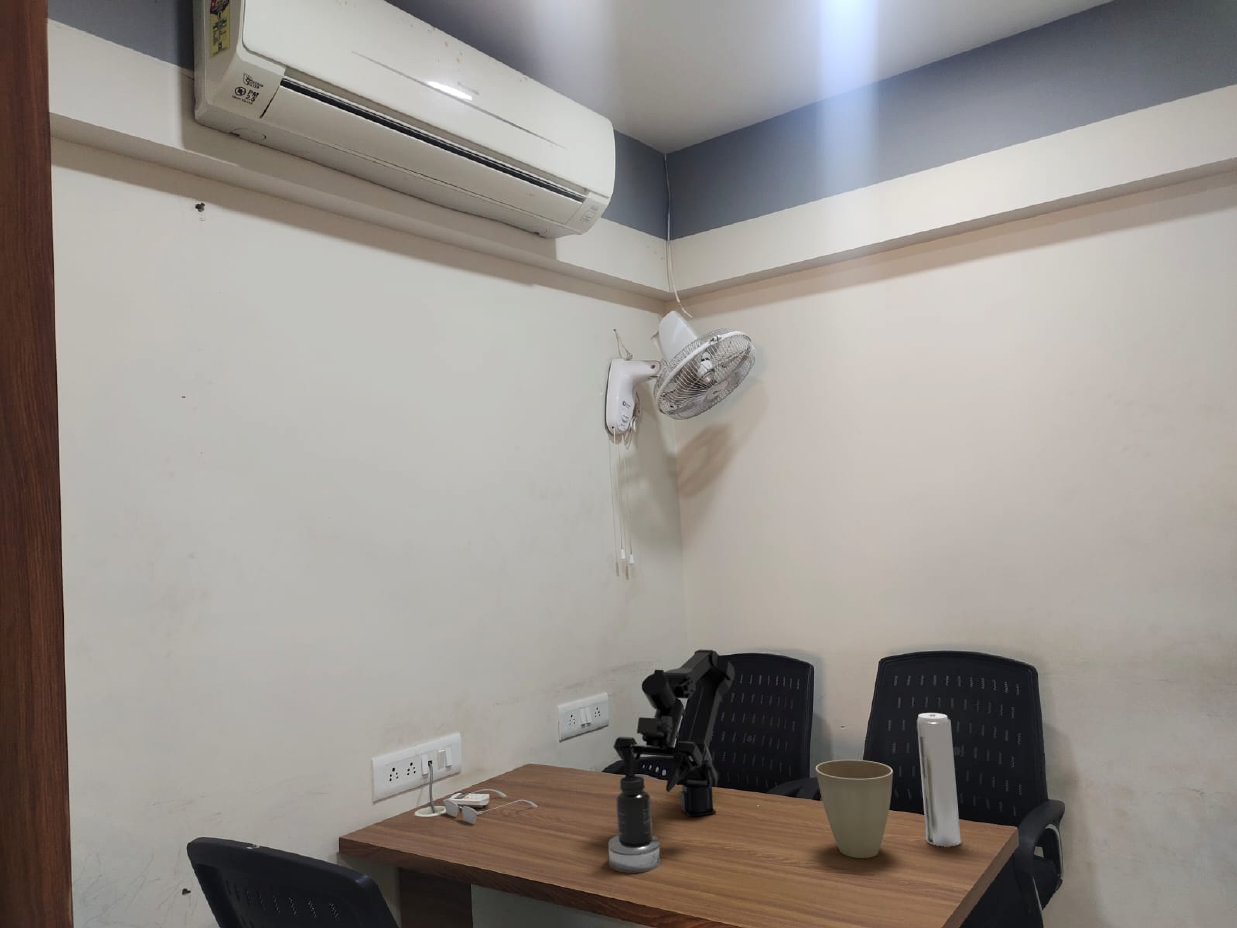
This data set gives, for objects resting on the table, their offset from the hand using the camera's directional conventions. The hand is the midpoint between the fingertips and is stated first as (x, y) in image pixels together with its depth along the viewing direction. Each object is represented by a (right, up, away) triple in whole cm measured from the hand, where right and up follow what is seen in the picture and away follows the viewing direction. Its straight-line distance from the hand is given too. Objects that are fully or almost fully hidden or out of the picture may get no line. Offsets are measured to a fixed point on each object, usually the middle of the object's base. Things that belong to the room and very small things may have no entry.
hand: (647, 788), depth 171 cm
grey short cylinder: (-3, -12, -8) cm, 14 cm away
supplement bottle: (-3, -8, -7) cm, 11 cm away
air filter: (+60, -9, -4) cm, 61 cm away
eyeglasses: (-37, -18, +31) cm, 51 cm away
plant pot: (+42, -10, -7) cm, 44 cm away
